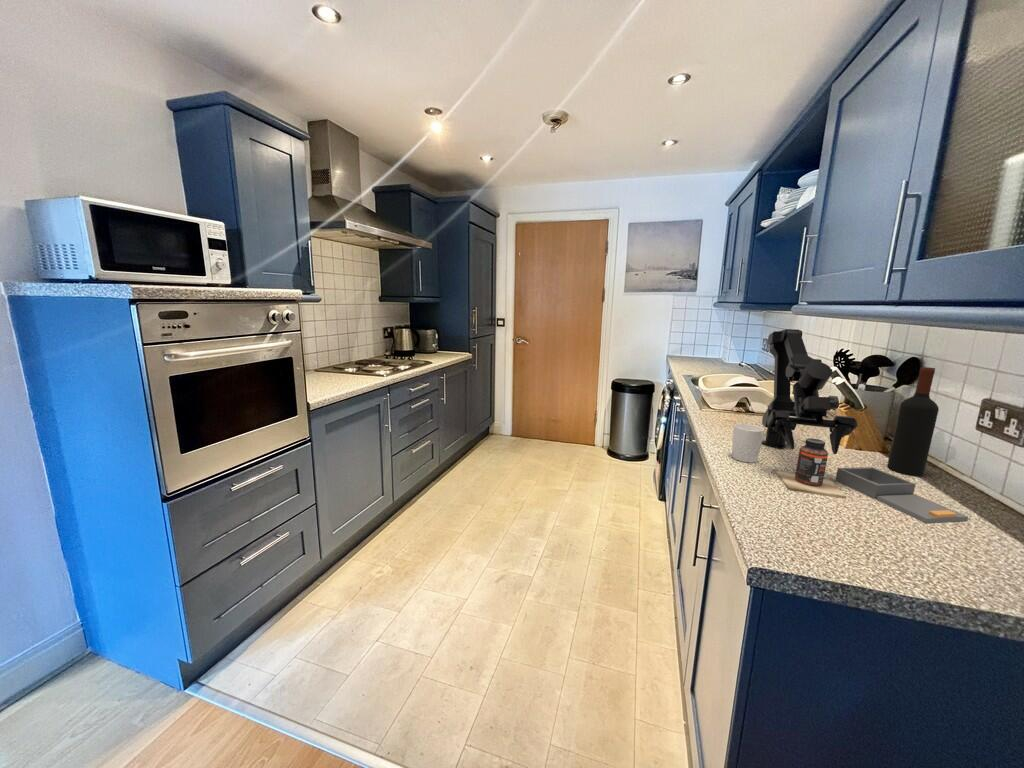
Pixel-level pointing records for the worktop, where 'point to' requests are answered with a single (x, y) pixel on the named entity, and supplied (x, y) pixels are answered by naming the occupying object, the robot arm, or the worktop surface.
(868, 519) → the worktop surface
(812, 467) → the supplement bottle
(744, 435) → the white cup
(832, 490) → the board
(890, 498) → the case
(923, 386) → the wine bottle
